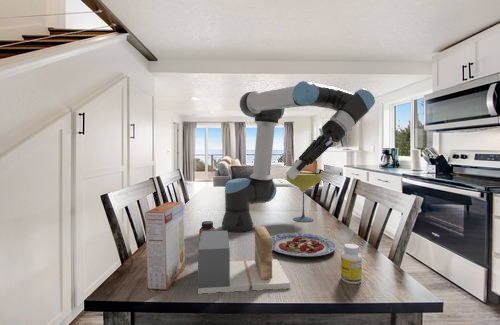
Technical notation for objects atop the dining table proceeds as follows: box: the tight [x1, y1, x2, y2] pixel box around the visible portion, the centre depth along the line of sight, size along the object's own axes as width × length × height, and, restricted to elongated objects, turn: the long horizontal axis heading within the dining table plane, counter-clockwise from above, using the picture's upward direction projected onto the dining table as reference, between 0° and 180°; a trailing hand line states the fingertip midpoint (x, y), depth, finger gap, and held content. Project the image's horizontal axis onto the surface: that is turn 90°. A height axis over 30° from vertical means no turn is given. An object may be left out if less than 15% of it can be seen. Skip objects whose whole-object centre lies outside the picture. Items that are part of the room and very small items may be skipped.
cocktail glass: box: [286, 171, 322, 223], centre depth 146 cm, size 18×18×25 cm
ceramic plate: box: [271, 232, 337, 258], centre depth 103 cm, size 26×26×3 cm
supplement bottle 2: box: [340, 243, 363, 285], centre depth 76 cm, size 5×5×10 cm
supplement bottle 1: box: [198, 220, 217, 243], centre depth 97 cm, size 6×6×11 cm
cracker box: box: [144, 201, 186, 291], centre depth 77 cm, size 14×6×21 cm, turn 174°
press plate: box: [254, 225, 273, 279], centre depth 79 cm, size 3×12×11 cm, turn 7°
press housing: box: [197, 230, 291, 295], centre depth 78 cm, size 24×16×12 cm, turn 97°
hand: (289, 176), depth 91 cm, fingers closed
